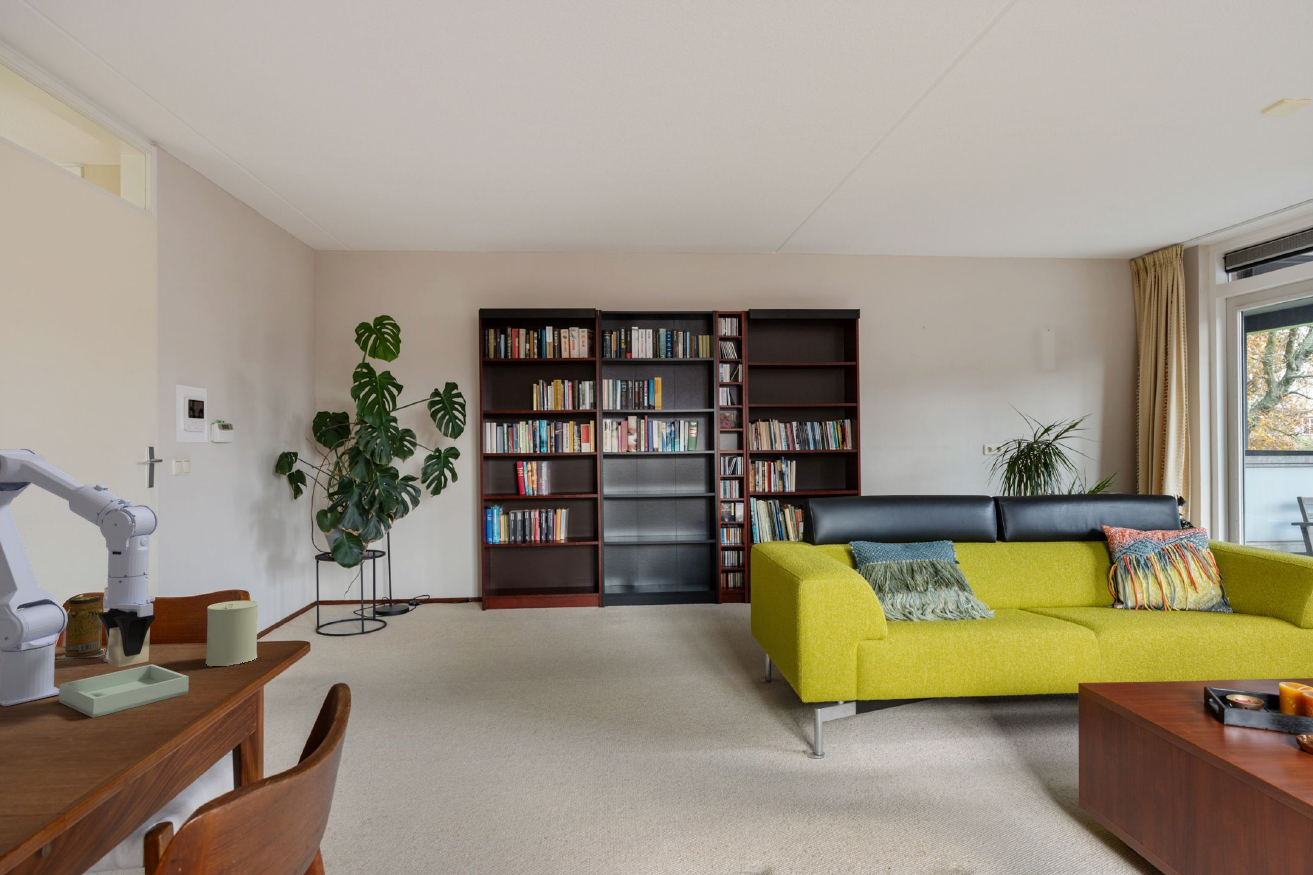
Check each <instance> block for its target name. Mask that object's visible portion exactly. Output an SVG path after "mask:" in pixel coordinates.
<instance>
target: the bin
mask: <svg viewBox="0 0 1313 875" xmlns="http://www.w3.org/2000/svg"><path fill="white" fill-rule="evenodd" d="M189 680H190V676H189V675H185V674H182V673H179V672H176V671H174V670H170V669H169V668H168V669H167V668H164V667H161V666H159V665H155V664H148V665H142V666H138V667H137V666H136V667H132V668H128V669H124V670H120V671H119V670H118V671H115V672H110V673H106V674H105V673H104V674H101V675H100V674H99V675H96V676H91V677H87V678H81V679H78V680H71V681H68V682H64V683H63V682H62V683H60V684H58V685H59V686H58V687H59V688H58V689H59V694H58V702H59V703H60V704H63V705H65V706H67V707H69V708H71V709H73V710H76V711H78V712H80V713H82V714H84V715H86V716H88V717H91V718H97V717H102V716H106V715H111V714H114V713H117V712H122V711H126V710H130V709H133V708H137V707H141V706H145V705H149V704H153V703H156V702H161V701H164V700H168V699H174V698H177V697H180V696H183V695H185V696H186V695H188V694H189V690H190V689H189V688H190V687H189V685H190V684H189V683H190V681H189Z"/></svg>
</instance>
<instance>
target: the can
mask: <svg viewBox="0 0 1313 875" xmlns="http://www.w3.org/2000/svg"><path fill="white" fill-rule="evenodd" d="M258 607H259V602H258V601H255V600H233V601H232V600H231V601H223V602H218V603H217V602H216V603H213V604H210V605H208V606H207V608H206V610H207V623H206V624H207V629H206V630H207V632H206V633H207V634H206V635H207V636H206V657H205V658H206V660H205V665H206V664H207V665H206V666H208V667H212V666H227V667H230V666H229V665H233V664H240V663H242V662H243V663H244V662H248V661H251V662H253V661H252V660H254V659H255V660H257V659H258V654H257V653H258V651H257V650H258V649H257V648H258V646H257V644H258V643H257V642H258V640H257V638H258V611H259V610H258ZM256 658H257V659H256ZM255 660H254V661H255Z"/></svg>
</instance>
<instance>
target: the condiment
mask: <svg viewBox="0 0 1313 875" xmlns="http://www.w3.org/2000/svg"><path fill="white" fill-rule="evenodd" d="M101 600H102V598H101V597H100V596H97V595H95V596H94V595H90V596H88V595H87V596H80V597H73V598H71V599H69V606H68V611H67V612H66V613H67V617H68V621H67V625H66V627H65V647H64V649H65V650H64V652H65V654H63V655H59V656H57V657H55V659H63V660H65V659H78V658H79V659H80V658H81V659H84V658H85V659H86V658H98V657H102V656H105V652H106V651H104V649H105V650H106V648H102V647H103V646H102V644H103V640H102V638H103V622H102V621H101V619H100V618H99V616H98V614H99V613H102V612H103V608H102V603H101ZM101 650H103V652H102V651H101Z"/></svg>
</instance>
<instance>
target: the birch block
mask: <svg viewBox="0 0 1313 875" xmlns="http://www.w3.org/2000/svg"><path fill="white" fill-rule="evenodd" d="M150 632H151V626H150V627H149V629H148V631H147V634H146V637H145V640H144V643H143V647H142V650H141V653H140V654H138V655H133V656H128V657H126V656H125V654H124V651H123V644H122V636H121V632H120V629H119V627H116V628H110V631H109V653H108V662H107V663H108V664H109V665H112V666H114V667H118V668H121V667H126V666H127V667H128V666H130V665H135V664H136V665H137V664H141V663H146V662H149V659H150V658H149V657H150V656H149V655H150V637H151V636H150V634H151V633H150Z"/></svg>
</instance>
